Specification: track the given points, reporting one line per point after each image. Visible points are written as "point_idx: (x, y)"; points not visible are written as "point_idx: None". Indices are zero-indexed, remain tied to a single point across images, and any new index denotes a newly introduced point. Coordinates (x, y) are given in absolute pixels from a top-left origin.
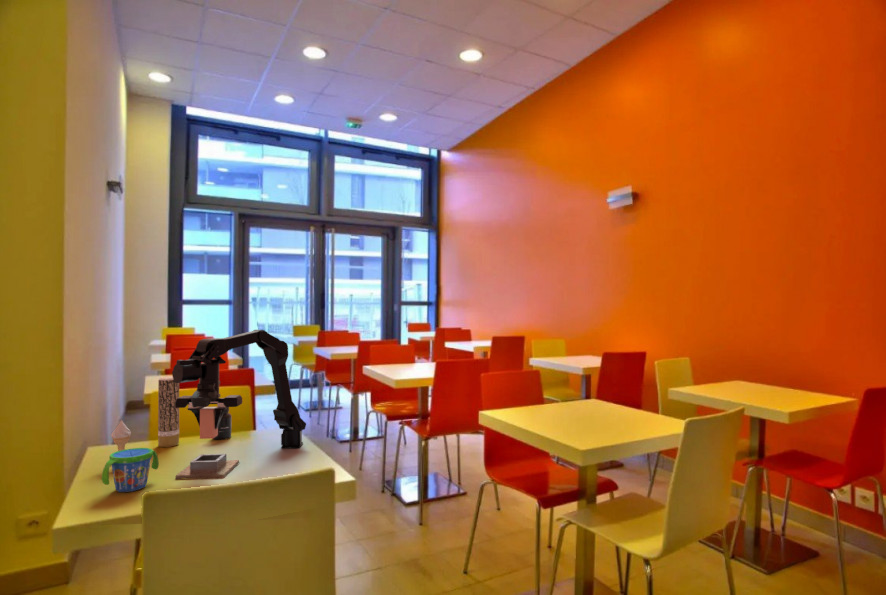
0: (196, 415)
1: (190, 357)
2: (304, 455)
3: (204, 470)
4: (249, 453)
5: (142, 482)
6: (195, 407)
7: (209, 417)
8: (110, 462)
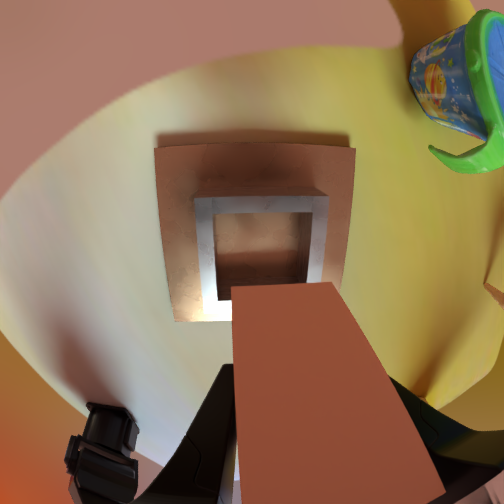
0: (442, 426)
1: None
2: (40, 352)
3: (255, 187)
4: (192, 390)
5: (419, 55)
6: (496, 483)
7: (292, 440)
8: None
